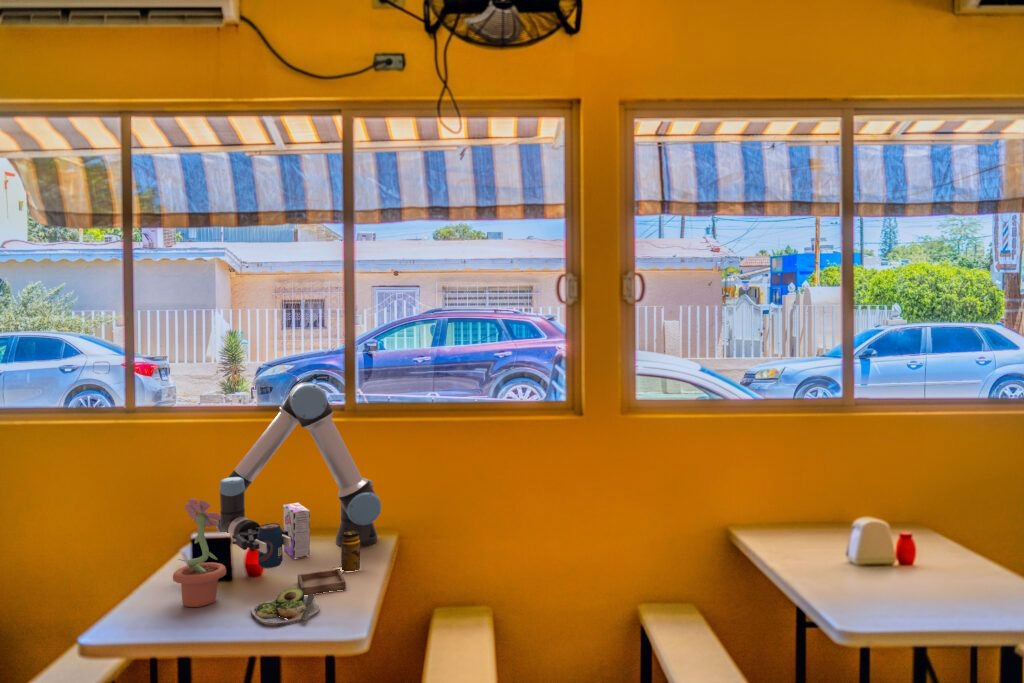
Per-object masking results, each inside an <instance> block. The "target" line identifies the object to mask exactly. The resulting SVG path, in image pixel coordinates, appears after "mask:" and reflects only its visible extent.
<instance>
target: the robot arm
mask: <svg viewBox="0 0 1024 683" xmlns="http://www.w3.org/2000/svg"><path fill="white" fill-rule="evenodd" d="M327 397H328V396H327V394H326V392H325V390H324V389H323V388H322V387H321V386H319V385H318V384H316V383H313V382H309V381H303V382H300V383H297V384H296V385H294V386H293V387H292V388H291V390H290V392H289V393H288V395H287V396H286V398H285V400H284V401H283V403H281V406H279V412H278V414H277V415H276V416H275V417H274V419H273V420H272V421H271V422H270V423H269V425H268V427H266V429H265V430H264V431H263V432H262V434H261V435H260V437H259V438H258V439H257V440H256V442H255V443H254V444H253V445H252V447H251V448H250V449H249V450H248V452H246V454H245V455H244V457H243V458H242V459H241V460H240V461H239V463H238V464H237V465H236V467H235V468H234V469H233V471H232V472H231V473H230V475H228V476H227V477H226V478H225V477H224V478H223V479H221V480H220V481H219V497H220V498H219V501H220V502H219V504H220V505H219V506H220V512H219V515H220V517H221V519H220V520H216V521H217V522H218V523H219V525H218V526H215V527H216V530H217V531H218V532H219V533H220V532H227V533H230V534H231V538H230V539H231V542H232V544H233V545H236V546H237V547H239V548H240V549H242V550H243V551H246V550H248V548H249V552H254V551H255V550H256V551H257V552H258V551H260V552H263V553H267V543H264V542H262V541H260V540H258V531H259V529H260V526H261V525H260V524H259V522H257V521H255V520H252V519H250V518H247V517H246V507H245V503H246V501H245V499H246V498H245V496H246V495H245V492H246V491H247V489H248V488H249V487H250V485H251V484H252V483H253V481H254V480H255V479H256V478H257V477H258V475H259V473H260V472H261V471H262V470H263V469H264V467H265V466H266V465H267V463H268V462H269V461H270V460H271V458H272V457H273V456H274V455H275V453H276V452H277V451H278V449H279V448H280V447H281V445H282V444H283V443H284V442H285V440H286V439H287V438H288V437H289V436H290V435H291V433H292V432H293V431H294V429H295V428H296V427H297V425H298V424H299V425H300V426H301V428H302V429H306V430H308V432H309V433H310V436H311V437H312V440H313V441H314V443H315V445H316V447H317V449H318V451H319V453H320V455H321V456H322V459H323V460H324V462H325V464H326V466H327V468H328V470H329V472H330V474H331V476H332V477H333V480H334V481H335V483H336V486H337V487H338V493H337V497H338V499H339V501H340V524H339V526H338V528H337V529H338V530H337V534H336V537H335V544H336V545H337V546H338V547H341V542H342V540H343V539H342V537H343V535H342V534H343V533H344V532H346V531H358V532H359V540H360V548H361V547H367V546H370V545H371V546H372V545H373V544H375V543H377V542H378V532H377V529H376V526H375V523H374V522H375V521H376V520H377V518H378V517H379V516H380V514H381V510H382V504H381V502H382V501H381V499H380V497H379V496H378V495H377V494H376V493H375V490H374V488H373V487H374V486H373V481H372V480H371V479H368V478H366V477H362V474H361V473H360V471H359V469H358V467H357V465H356V463H355V461H354V459H353V458H352V455H351V454H350V451H349V450H348V447H347V445H346V444H345V442H344V440H343V438H342V436H341V434H340V432H339V430H338V428H337V426H336V424H335V422H334V420H333V414H334V410H333V409H332V406H331V404H330V402H329V401H328V398H327ZM284 545H285V546H287V547H291V538H290V537H288V531H285V530H284V529H282V546H284Z"/></svg>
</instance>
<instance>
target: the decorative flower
mask: <svg viewBox="0 0 1024 683" xmlns="http://www.w3.org/2000/svg"><path fill="white" fill-rule="evenodd" d="M210 507H212V506H211V504H210V503H209V502H208V501H205V500H202V499H200V500H199V501H198V499H197V498H189V499H188V500H187V503H186V504H185V506H184V510H186V512H187V514H188V516H189V518H190V519H192V520H193V523H195V524H197V530H196V531H197V535H196V537H195V539H194V544H198V543H199V546H200V549H201V553H202V554H201V556H198V557H196V558H195V557H194V558H191V559H189V560H185V559H184V560H183V559H182V558H181V559H179V558H178V560H179V561H183V562H187V564H186V565H185V566H182V567H179V568H177V570H175V571H174V572H173V574H172V581H173V582H175V583H177V584H180V586H181V587H180V588H181V601H182V605H184V606H185V607H189V608H199V607H204V606H208V605H210V604H212V603H214V602H215V601H216V598H217V596H218V595H217V592H218V585H219V584H218V583H219V579H221V578H224V576H226V575H227V567H226V566H225V565H224V564H223V563H220V562H219V563H218V562H213V561H211V562H206V561H207V560H208V559H209V557H210V558H212V560H213V559H214V560H215V561H216V560H217V561H218V558H217V557H216V556H215V555H214V554H213V553H212V552H211V551H209V549H210V548H209V546H208V542H207V539H206V536H205V528H206V527H207V528H211V527H216V526H218V525H219V523H218V522H217V520H220V519H221V517H220V513H218V512H208V511H207V510H209V508H210Z"/></svg>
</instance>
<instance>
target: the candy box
mask: <svg viewBox="0 0 1024 683" xmlns="http://www.w3.org/2000/svg"><path fill="white" fill-rule="evenodd" d="M282 509H283V511H282V512H283V530H285V531H288V537H290V538H291V547H287V546H285V545H283V550H285V551H284V552H285V553H287V555H288V556H290V557H291V559H293V560H296V559H295V558H299V559H302V558H301V557H306V558H309V557H310V549H311V548H310V545H311V544H310V540H311V539H310V537H311V536H310V535H311V534H310V533H311V530H310V528H311V526H310V525H311V520H310V518H311V517H310V516H311V512H310V511H311V510H310V509H309V508H307V507H305V506H304V505H302V504H301V503H300V502H294V503H287V504H283V508H282ZM308 556H309V557H308Z"/></svg>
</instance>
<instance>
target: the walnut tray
mask: <svg viewBox="0 0 1024 683" xmlns="http://www.w3.org/2000/svg"><path fill="white" fill-rule="evenodd" d="M343 575H344V574H342V573H341V571H340V569H335V570H333V569H329V570H320V571H315V572H307V573H299V574H298V573H297V585H298V588H300V589H301V590H303V592H304V595H309V594H316V593H322V594H324V593H323V592H329V591H336V592H338V591H337V590H343V591H345V590H344V589H346V587H347V586H346V583H347V582H346V580H345V579H346V578H344V576H343ZM346 590H347V589H346ZM329 593H330V592H329ZM316 595H317V594H316Z"/></svg>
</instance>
